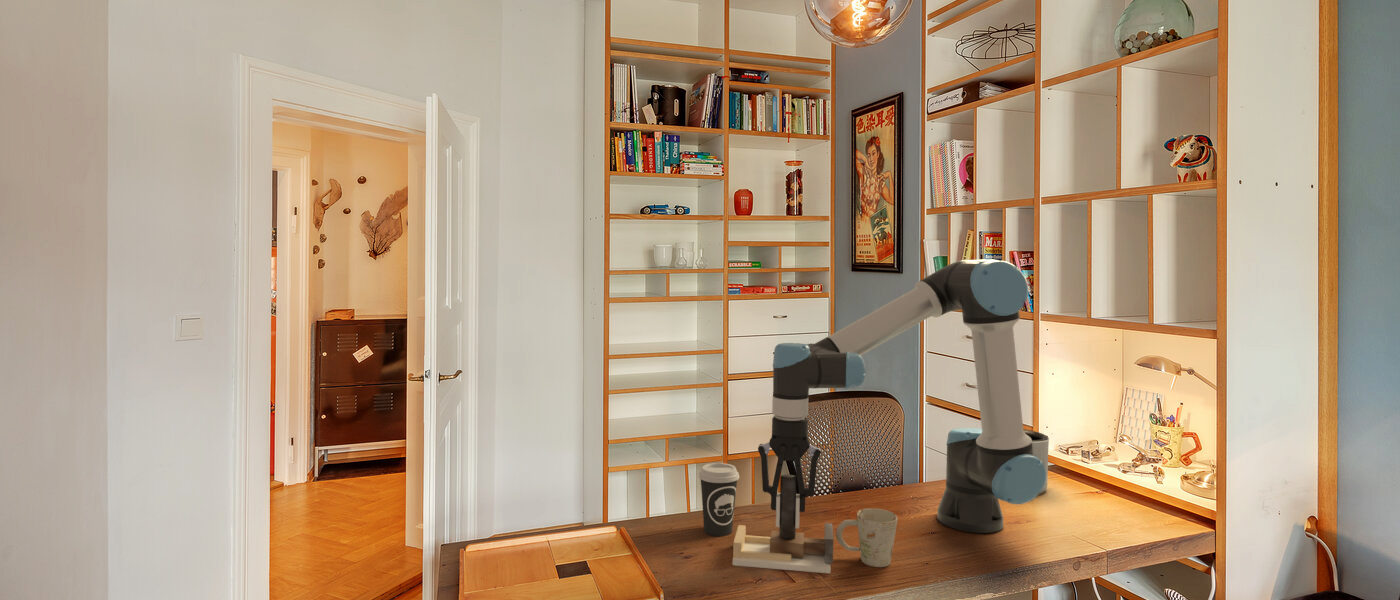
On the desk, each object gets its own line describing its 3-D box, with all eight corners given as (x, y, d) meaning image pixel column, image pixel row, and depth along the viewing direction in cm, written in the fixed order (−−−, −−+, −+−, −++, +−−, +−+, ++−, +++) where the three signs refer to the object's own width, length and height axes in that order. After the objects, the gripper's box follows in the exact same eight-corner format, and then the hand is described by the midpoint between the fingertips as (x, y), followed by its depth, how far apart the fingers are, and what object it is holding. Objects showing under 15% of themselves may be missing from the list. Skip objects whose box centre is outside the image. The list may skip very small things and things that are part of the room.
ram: (831, 546, 153) (833, 473, 152) (832, 563, 144) (834, 486, 143) (771, 541, 155) (773, 469, 154) (769, 558, 146) (770, 482, 145)
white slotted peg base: (829, 549, 154) (829, 530, 154) (830, 573, 142) (830, 552, 142) (738, 542, 157) (739, 523, 157) (732, 565, 146) (732, 544, 145)
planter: (1042, 501, 189) (1045, 444, 188) (980, 489, 198) (982, 435, 197) (1050, 485, 202) (1052, 432, 201) (991, 475, 211) (993, 424, 210)
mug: (897, 571, 144) (898, 523, 143) (835, 565, 146) (836, 518, 146) (894, 555, 152) (895, 510, 151) (835, 549, 154) (836, 505, 154)
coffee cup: (743, 526, 167) (744, 464, 166) (731, 541, 158) (733, 475, 157) (705, 521, 170) (706, 460, 169) (691, 535, 161) (692, 471, 160)
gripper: (829, 414, 151) (826, 521, 152) (752, 411, 153) (750, 516, 154) (830, 422, 143) (827, 535, 144) (749, 418, 146) (747, 529, 147)
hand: (787, 525), depth 149 cm, fingers closed on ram, 3 cm apart
